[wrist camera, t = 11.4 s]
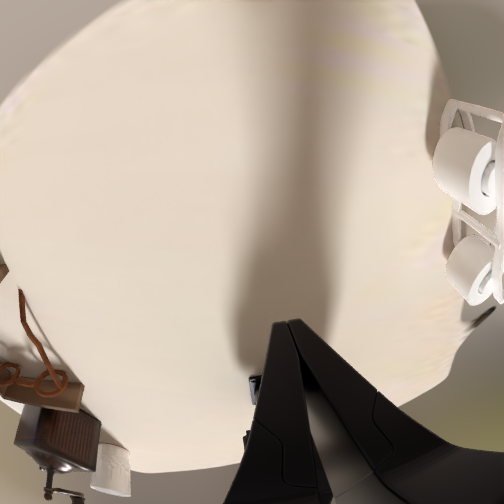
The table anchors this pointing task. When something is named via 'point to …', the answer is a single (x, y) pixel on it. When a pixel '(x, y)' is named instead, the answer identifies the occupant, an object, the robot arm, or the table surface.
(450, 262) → the toilet paper holder
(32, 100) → the table surface
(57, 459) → the coffee grinder
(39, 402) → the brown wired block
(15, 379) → the glasses
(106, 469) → the white cup
